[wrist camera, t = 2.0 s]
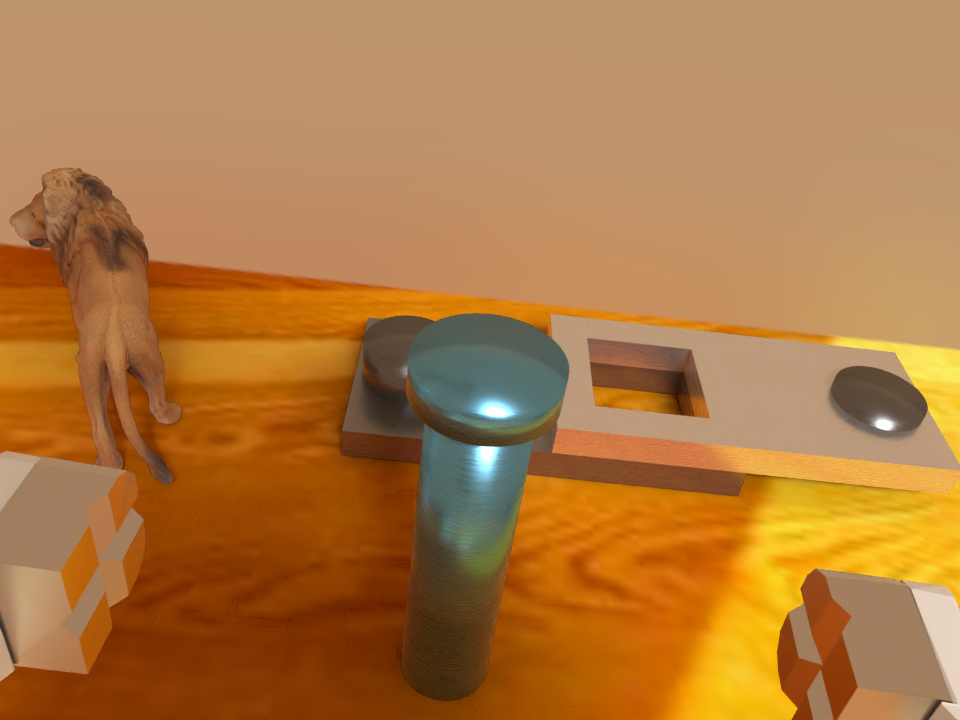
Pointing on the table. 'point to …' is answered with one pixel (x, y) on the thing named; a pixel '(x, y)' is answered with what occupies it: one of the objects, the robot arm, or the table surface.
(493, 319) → the pin
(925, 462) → the latch plate
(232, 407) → the table surface
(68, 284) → the lion figurine
